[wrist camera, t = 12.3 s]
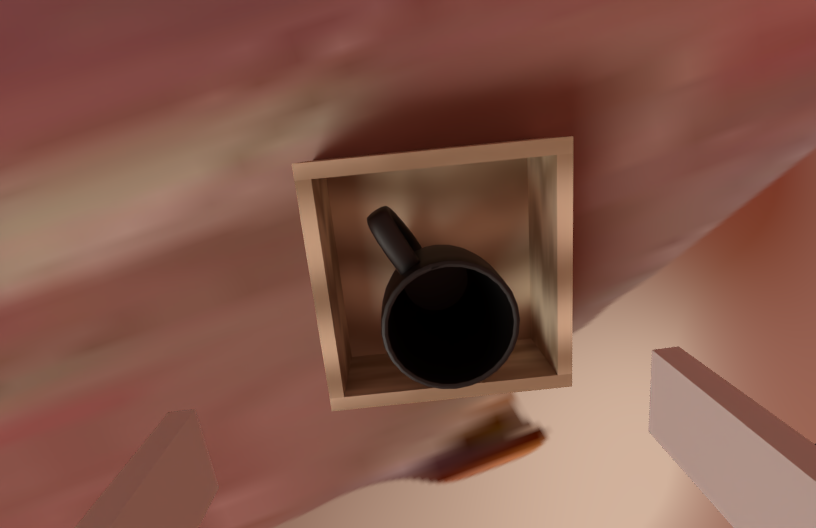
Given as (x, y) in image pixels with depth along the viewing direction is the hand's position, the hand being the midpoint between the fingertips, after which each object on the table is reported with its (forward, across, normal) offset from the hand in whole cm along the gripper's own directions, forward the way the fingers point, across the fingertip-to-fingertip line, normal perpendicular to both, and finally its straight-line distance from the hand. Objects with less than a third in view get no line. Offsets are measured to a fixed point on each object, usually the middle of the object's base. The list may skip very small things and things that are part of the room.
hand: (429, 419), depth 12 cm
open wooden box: (+23, +2, -2) cm, 23 cm away
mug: (+22, +1, -2) cm, 22 cm away
